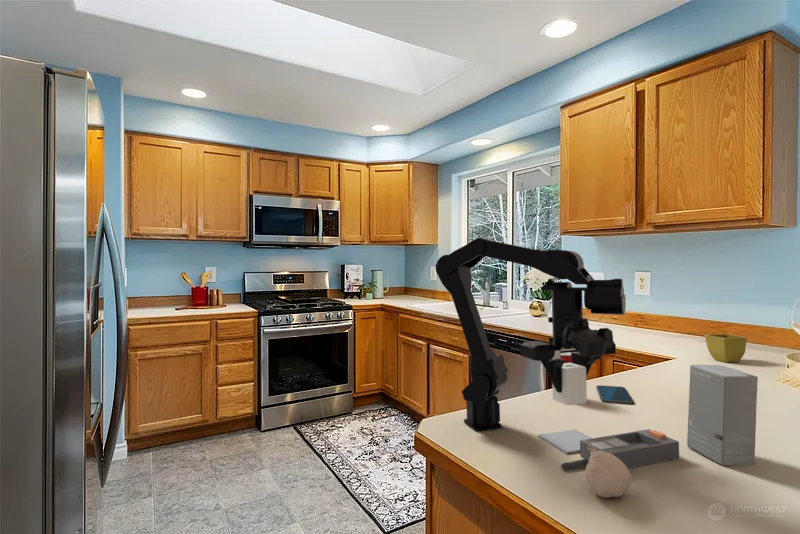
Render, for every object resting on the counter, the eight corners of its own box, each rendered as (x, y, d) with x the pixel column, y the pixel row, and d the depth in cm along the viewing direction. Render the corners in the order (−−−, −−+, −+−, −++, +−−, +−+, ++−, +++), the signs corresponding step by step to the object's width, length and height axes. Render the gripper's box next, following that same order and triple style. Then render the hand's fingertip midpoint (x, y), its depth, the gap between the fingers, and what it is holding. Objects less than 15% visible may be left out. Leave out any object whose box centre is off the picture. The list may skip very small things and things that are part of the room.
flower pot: (704, 359, 156) (704, 334, 156) (726, 358, 157) (725, 333, 157) (725, 364, 147) (724, 338, 147) (748, 363, 148) (747, 337, 148)
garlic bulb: (583, 482, 69) (581, 432, 69) (626, 486, 67) (625, 436, 67) (588, 503, 63) (586, 449, 63) (637, 509, 61) (635, 453, 61)
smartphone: (625, 390, 121) (625, 386, 121) (635, 406, 107) (635, 402, 107) (595, 388, 123) (595, 385, 123) (601, 403, 109) (601, 400, 109)
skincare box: (686, 447, 81) (683, 364, 81) (721, 445, 82) (718, 362, 82) (723, 467, 73) (720, 374, 73) (762, 465, 73) (759, 372, 73)
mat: (567, 454, 79) (566, 452, 79) (538, 436, 88) (538, 434, 88) (606, 447, 82) (606, 445, 82) (574, 430, 91) (574, 429, 91)
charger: (567, 405, 82) (566, 368, 82) (552, 399, 87) (551, 364, 87) (586, 403, 84) (585, 366, 84) (571, 396, 88) (570, 362, 88)
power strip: (574, 478, 70) (573, 456, 70) (550, 462, 76) (549, 442, 76) (679, 458, 77) (678, 438, 77) (649, 444, 83) (648, 426, 83)
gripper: (552, 319, 75) (555, 408, 75) (637, 314, 80) (639, 397, 80) (517, 313, 86) (519, 391, 85) (594, 309, 91) (596, 382, 91)
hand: (569, 391), depth 85 cm, fingers closed on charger, 4 cm apart
